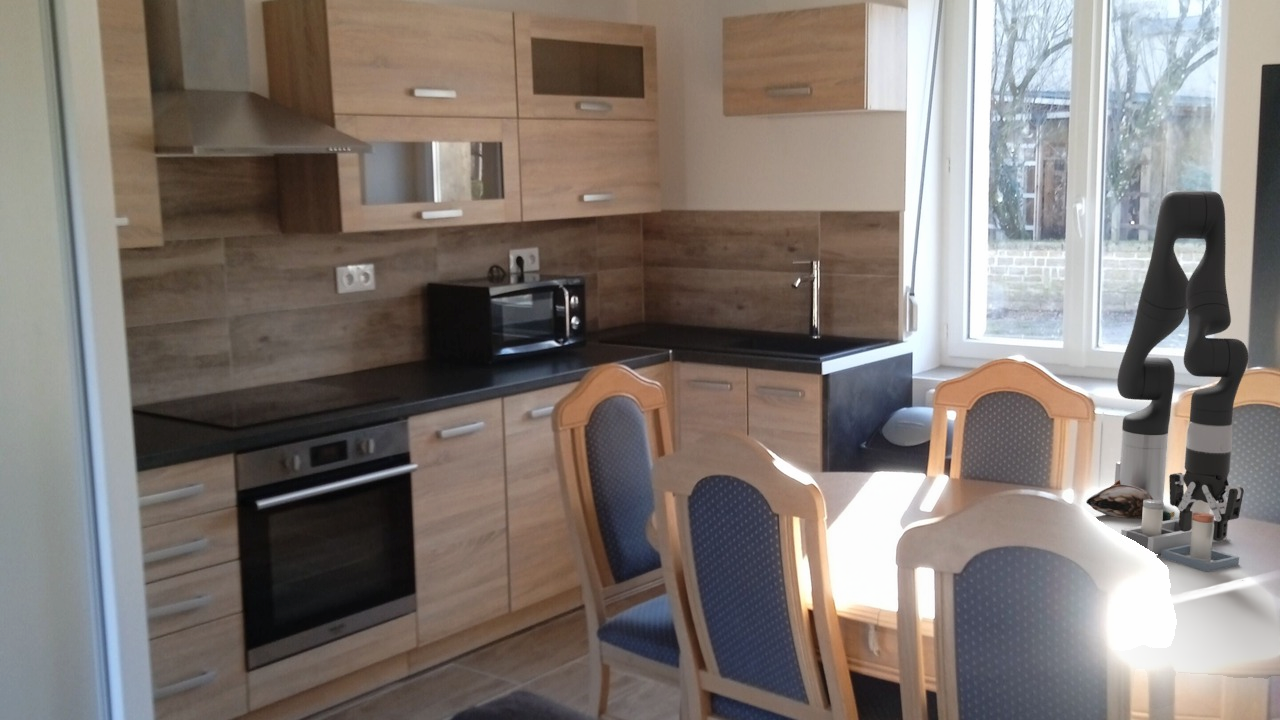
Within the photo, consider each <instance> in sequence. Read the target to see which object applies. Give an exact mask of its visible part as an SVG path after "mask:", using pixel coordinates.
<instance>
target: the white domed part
mask: <svg viewBox="0 0 1280 720" xmlns="http://www.w3.org/2000/svg"><path fill="white" fill-rule="evenodd" d="M1190 511H1192V518H1193V513H1195V512H1203V513H1209V514H1211V513H1210V511H1211V509H1210V507H1209V504H1208V503H1206V502H1204V501H1202V500H1198V501H1196V502H1195V504H1194V505H1193V507H1192V509H1190ZM1191 525H1192V523H1191Z"/></svg>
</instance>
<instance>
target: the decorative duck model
mask: <svg viewBox="0 0 1280 720" xmlns="http://www.w3.org/2000/svg"><path fill="white" fill-rule="evenodd" d="M1148 499H1151V500H1153V498H1152V497H1151V496H1150V495H1149V493H1147V492H1146V491H1145V490H1143V489H1140V488H1138V487H1135V486H1131V485H1124V484H1120V480H1119V481H1117V482H1116V483H1115V482H1114V484H1112V485H1111V486H1109V487H1107V488H1104V489H1102V490H1101V491H1098V492H1097V493H1095V494H1093V495H1092V496H1090V497H1088V498H1087V499H1086V504H1087V505H1089V506H1090V507H1091V508H1092V509H1094V510H1095V511H1097V512H1099V513H1102V514H1103V515H1105V516H1109V517H1117V518H1124V519H1142V512H1143V501H1144V500H1148ZM1173 517H1175V511H1171V512H1168V511H1167V510H1164V509H1163V519H1162V521H1167V520H1172V519H1171V518H1173Z"/></svg>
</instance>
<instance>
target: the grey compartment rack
mask: <svg viewBox="0 0 1280 720" xmlns="http://www.w3.org/2000/svg"><path fill="white" fill-rule="evenodd" d="M1214 521H1216V519H1214ZM1141 526H1142V525H1138V526H1132V527H1127V528H1121V532H1120V535H1121V534H1122V535H1124V536H1126V537H1128V538H1130V539H1132V540H1134V541H1136V542H1137V543H1139V544H1140V545H1142V546H1144V547H1145V548H1147V549H1149V550H1150V551H1152V552H1154V553H1155V554H1158V556H1157V557H1161V554H1162V550H1164V549H1169V548H1174V547H1178V546H1183V545H1188V544H1191V531H1192V525H1191V530H1190V531H1186V532H1184V531H1181V530H1180V527H1179V517H1178V518H1174V519H1170V520H1167V521H1162V533H1161V535H1157V536H1153V537H1151V536H1148V535H1144V534H1141ZM1228 527H1229V524H1228V523H1227V531H1228ZM1213 533H1214V525H1213ZM1229 541H1231V539H1229V538H1228V534H1227V535H1226V537H1225V538H1224V539H1223V540H1221V541H1215V540H1213V538H1212V545H1215V544H1221V543H1225V542H1229Z"/></svg>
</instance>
